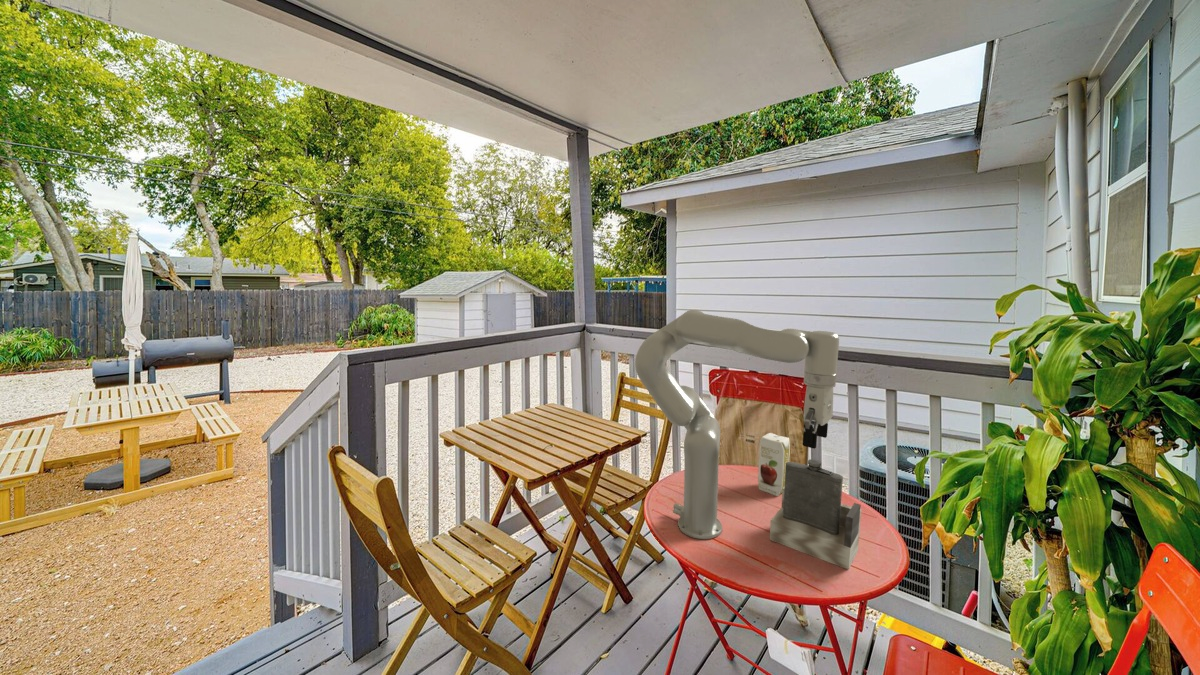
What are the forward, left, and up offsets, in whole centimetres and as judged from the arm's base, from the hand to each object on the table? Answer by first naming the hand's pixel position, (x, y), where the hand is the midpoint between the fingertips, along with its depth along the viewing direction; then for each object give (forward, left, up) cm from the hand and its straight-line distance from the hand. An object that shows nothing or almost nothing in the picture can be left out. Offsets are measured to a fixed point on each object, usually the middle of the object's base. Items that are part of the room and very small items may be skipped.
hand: (814, 441), depth 122 cm
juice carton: (-19, +24, -30) cm, 43 cm away
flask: (0, 0, -24) cm, 24 cm away
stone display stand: (+1, 0, -30) cm, 30 cm away
